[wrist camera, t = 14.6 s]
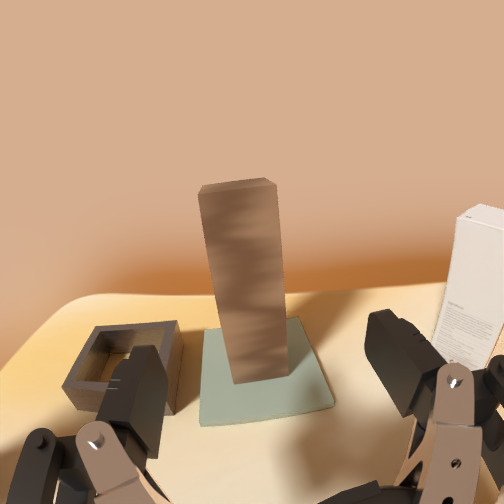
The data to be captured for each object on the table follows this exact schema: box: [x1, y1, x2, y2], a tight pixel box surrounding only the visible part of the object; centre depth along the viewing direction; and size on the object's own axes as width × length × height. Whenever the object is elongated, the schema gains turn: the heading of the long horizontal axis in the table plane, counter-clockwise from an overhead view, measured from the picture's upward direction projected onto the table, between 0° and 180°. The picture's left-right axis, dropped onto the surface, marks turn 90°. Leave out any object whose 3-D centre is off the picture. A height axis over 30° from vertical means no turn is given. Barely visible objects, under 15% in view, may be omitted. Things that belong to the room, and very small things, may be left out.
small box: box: [431, 204, 504, 371], centre depth 17 cm, size 8×6×13 cm
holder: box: [62, 320, 184, 415], centre depth 22 cm, size 10×10×3 cm
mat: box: [199, 317, 334, 427], centre depth 23 cm, size 10×12×1 cm
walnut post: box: [198, 178, 289, 385], centre depth 20 cm, size 4×4×15 cm
